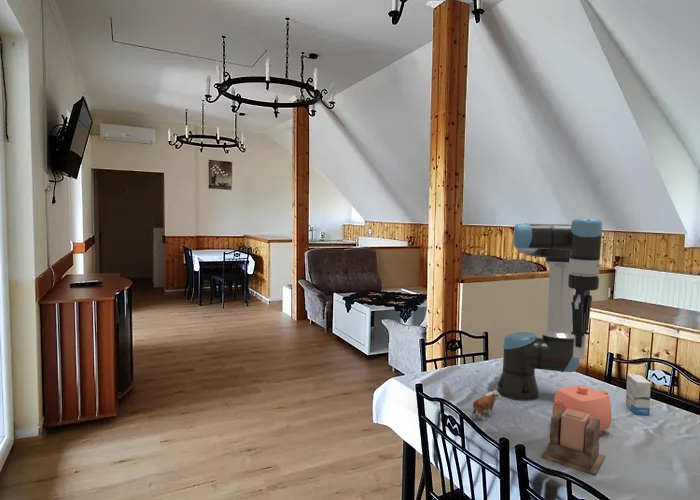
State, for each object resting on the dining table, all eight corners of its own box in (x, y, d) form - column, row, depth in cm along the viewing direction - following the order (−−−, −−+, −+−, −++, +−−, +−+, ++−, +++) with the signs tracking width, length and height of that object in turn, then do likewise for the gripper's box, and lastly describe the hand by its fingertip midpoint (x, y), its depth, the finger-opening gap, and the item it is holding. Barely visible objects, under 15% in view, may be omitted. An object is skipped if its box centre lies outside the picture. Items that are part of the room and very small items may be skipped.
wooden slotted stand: (541, 457, 130) (543, 418, 129) (553, 441, 139) (555, 405, 139) (595, 475, 121) (598, 434, 120) (605, 457, 131) (607, 418, 130)
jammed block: (559, 455, 130) (561, 413, 129) (565, 447, 135) (567, 407, 134) (582, 463, 126) (584, 420, 125) (587, 454, 131) (590, 413, 130)
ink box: (649, 415, 158) (652, 383, 157) (634, 414, 159) (636, 381, 158) (639, 405, 167) (641, 374, 166) (624, 404, 168) (626, 373, 167)
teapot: (570, 444, 138) (572, 399, 137) (538, 426, 149) (540, 384, 148) (621, 432, 146) (624, 389, 145) (587, 416, 158) (589, 376, 157)
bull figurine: (502, 413, 159) (503, 390, 158) (478, 423, 151) (479, 399, 150) (492, 409, 162) (493, 386, 161) (467, 418, 154) (468, 395, 153)
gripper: (593, 278, 119) (588, 366, 121) (603, 273, 129) (598, 354, 131) (562, 275, 124) (558, 360, 126) (575, 270, 134) (570, 349, 136)
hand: (578, 357), depth 128 cm, fingers closed
